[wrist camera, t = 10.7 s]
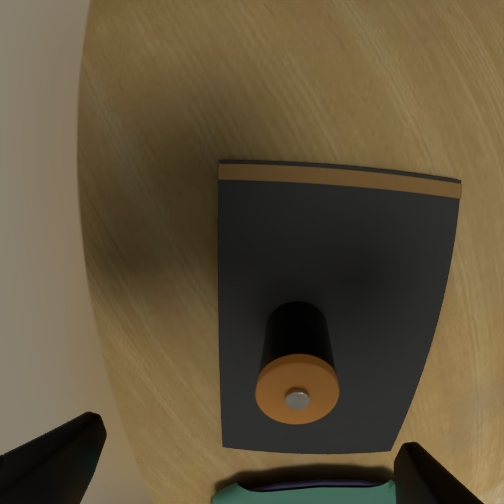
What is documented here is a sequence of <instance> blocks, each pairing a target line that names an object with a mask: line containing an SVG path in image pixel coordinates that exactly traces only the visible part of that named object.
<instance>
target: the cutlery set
mask: <svg viewBox="0 0 504 504" xmlns="http://www.w3.org/2000/svg"><path fill="white" fill-rule="evenodd" d="M212 504H396V494H395V482H394V481H392V480H391V479H389V480H388V482H387V483H385V484H383V483H376V482H369V481H363V480H358V479H357V480H330V479H317V480H308V481H298V482H285V483H277V484H273V485H268V486H263V487H259V488H253V489H248V490H246V489H243V488H241V487H240V486H239V485H237V483H233V484H231V485H229V486H227V487H225V488H223V489H221V490H220V491H219V492H218V493H216V494H215V497H214V499H213V503H212Z"/></svg>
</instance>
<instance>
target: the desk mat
mask: <svg viewBox="0 0 504 504" xmlns="http://www.w3.org/2000/svg"><path fill="white" fill-rule="evenodd" d="M218 180H219V192H218V312H219V361H220V394H221V420H222V442H223V447H226V448H234V449H243V450H253V451H265V452H279V453H300V454H351V453H371V452H385V451H391V449H392V446H393V444H394V442H395V440H396V438H397V435H398V433H399V431H400V429H401V426H402V424H403V422H404V419H405V417H406V414H407V412H408V409H409V407H410V404H411V402H412V399H413V397H414V394H415V391H416V389H417V386H418V383H419V380H420V377H421V374H422V372H423V369H424V366H425V362H426V359H427V356H428V353H429V350H430V347H431V343H432V340H433V336H434V333H435V329H436V326H437V322H438V318H439V314H440V310H441V306H442V302H443V298H444V293H445V289H446V284H447V279H448V274H449V269H450V264H451V259H452V253H453V247H454V240H455V234H456V227H457V219H458V211H459V201H460V199H461V192H462V184H461V180H456V179H450V178H444V177H437V176H431V175H424V174H417V173H409V172H401V171H393V170H384V169H375V168H366V167H355V166H344V165H332V164H318V163H302V162H283V161H257V160H219V164H218ZM294 301H301V302H307V303H310V304H312V305H314V306H315V307H317V308H318V309H319V310H320V311H321V312H322V313H323V315H324V316H325V319H326V322H327V326H328V332H329V337H330V342H331V347H332V353H333V358H334V363H335V369H336V375H337V378H338V383H339V392H340V393H339V398H338V401H337V403H336V405H335V406H334V408H333V409H332V410H331V411H330V412H329V413H328V414H327V415H325V416H324V417H322V418H320V419H318V420H316V421H313V422H310V423H305V424H287V423H282V422H279V421H276V420H274V419H272V418H270V417H269V416H267V415H266V414H265V413H264V412H263V411H262V410H261V409H260V407H259V406H258V404H257V401H256V398H255V390H256V384H257V379H258V375H259V369H260V363H261V357H262V350H263V344H264V338H265V332H266V325H267V321H268V319H269V316H270V315H271V313H272V312H273V311H274V310H275V309H276V308H278V307H279V306H281V305H283V304H285V303H288V302H294Z"/></svg>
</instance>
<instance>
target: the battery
mask: <svg viewBox="0 0 504 504" xmlns="http://www.w3.org/2000/svg"><path fill="white" fill-rule="evenodd" d="M339 393H340V392H339V383H338V378H337V375H336V369H335V363H334V358H333V353H332V347H331V342H330V337H329V332H328V326H327V322H326V319H325V316H324V315H323V313H322V312H321V311H320V310H319V309H318V308H317V307H315V306H314V305H312V304H310V303H307V302H301V301H294V302H288V303H285V304H283V305H281V306H279V307H278V308H276V309H275V310H274V311H273V312H272V313H271V315H270V316H269V319H268V321H267V325H266V332H265V338H264V344H263V350H262V357H261V363H260V369H259V375H258V379H257V384H256V390H255V398H256V401H257V404H258V406H259V407H260V409H261V410H262V411H263V412H264V413H265V414H266V415H267V416H269V417H270V418H272V419H274V420H276V421H279V422H282V423H287V424H305V423H310V422H313V421H316V420H318V419H320V418H322V417H324V416H325V415H327V414H328V413H329V412H330V411H331V410H332V409H333V408H334V406H335V405H336V403H337V401H338V398H339Z"/></svg>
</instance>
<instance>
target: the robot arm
mask: <svg viewBox="0 0 504 504" xmlns="http://www.w3.org/2000/svg"><path fill="white" fill-rule="evenodd" d="M106 436H107V433H106V429H105V427H104V424H103V421H102V419H101V416H100V415H99V414H96V413H93V412H86V413H84V414H82V415H80V416H78V417H76V418H75V419H73V420H71V421H69V422H67V423H65V424H63V425H61V426H59V427H57V428H55V429H53V430H51V431H49V432H47V433H45V434H43V435H41V436H40V437H37V438H35V439H34V440H31V441H29V442H27V443H25V444H23V445H21V446H19V447H17V448H15V449H13V450H11V451H9V452H7V453H5V454H4V455H0V504H80V502H81V500H82V498H83V496H84V494H85V492H86V490H87V488H88V485H89V483H90V481H91V479H92V477H93V475H94V472H95V469H96V466H97V463H98V460H99V457H100V454H101V451H102V448H103V446H104V443H105V440H106ZM394 477H395V494H396V504H484V503H483V502H481V501H480V500H479V499H478V498H477V497H476V496H475V495H474V494H473V493H472V492H470V491H469V490H468V489H467V488H466V487H465V486H464V485H463V484H462V483H461V482H459V481H458V480H457V479H456V478H455V477H454V476H453V475H452V474H451V473H450V472H449V471H447V470H446V469H445V468H444V467H443V466H442V465H441V464H440V463H439V462H438V461H437V460H436V459H434V458H433V457H432V456H431V455H430V454H429V453H428V452H427V451H426V450H425V449H424V448H423V447H422V446H421V445H419V444H418V443H417V442H409V443H404V444H403V445H402V446H401V448H400V450H399V452H398V454H397V456H396V458H395V461H394Z"/></svg>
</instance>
